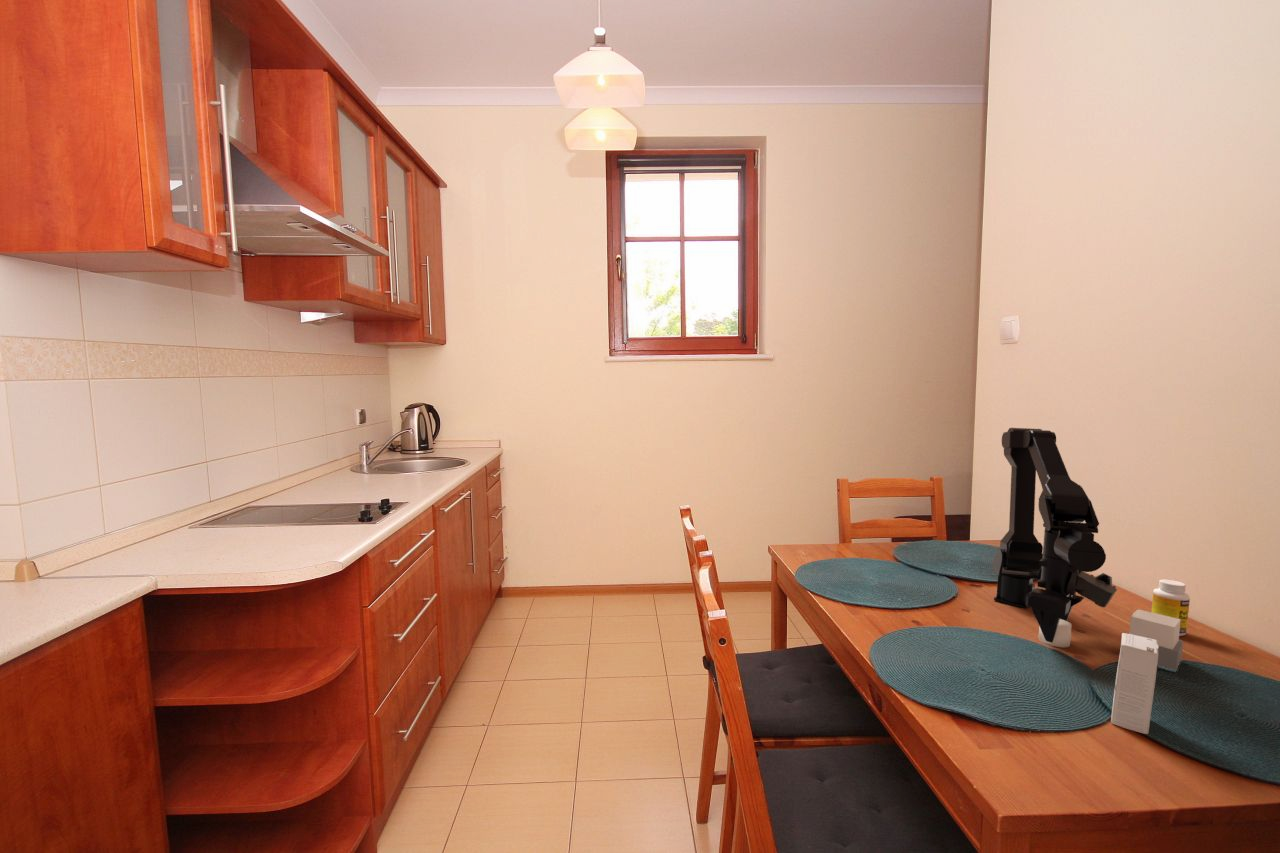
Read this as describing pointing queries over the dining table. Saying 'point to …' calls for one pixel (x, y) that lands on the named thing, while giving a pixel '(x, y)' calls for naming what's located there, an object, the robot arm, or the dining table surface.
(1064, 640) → the white rounded cylinder
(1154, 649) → the skincare box
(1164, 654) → the tower base
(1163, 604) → the supplement bottle
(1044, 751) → the dining table surface
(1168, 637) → the tower top
